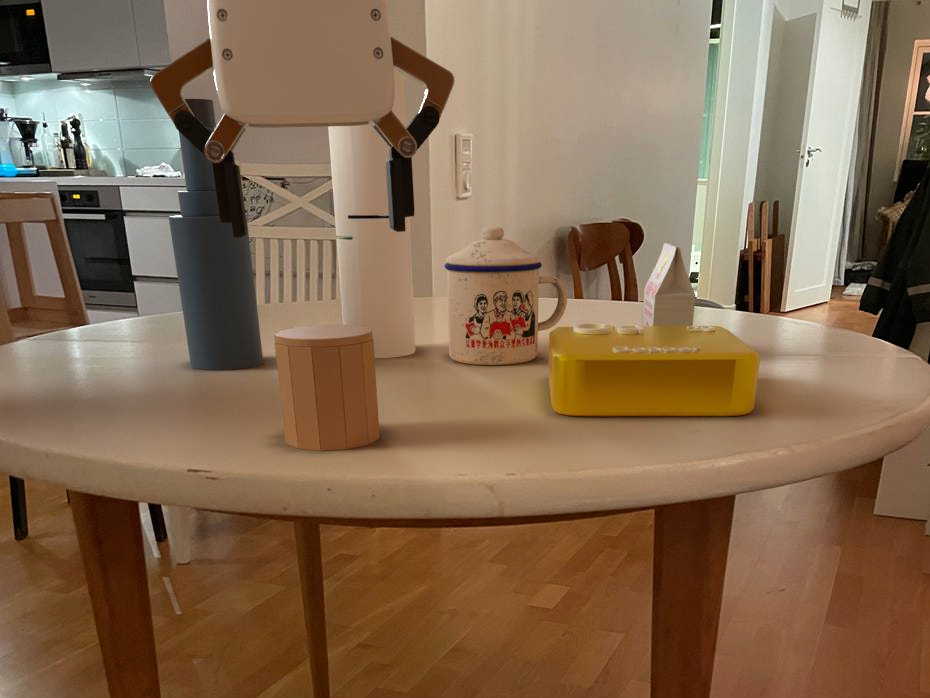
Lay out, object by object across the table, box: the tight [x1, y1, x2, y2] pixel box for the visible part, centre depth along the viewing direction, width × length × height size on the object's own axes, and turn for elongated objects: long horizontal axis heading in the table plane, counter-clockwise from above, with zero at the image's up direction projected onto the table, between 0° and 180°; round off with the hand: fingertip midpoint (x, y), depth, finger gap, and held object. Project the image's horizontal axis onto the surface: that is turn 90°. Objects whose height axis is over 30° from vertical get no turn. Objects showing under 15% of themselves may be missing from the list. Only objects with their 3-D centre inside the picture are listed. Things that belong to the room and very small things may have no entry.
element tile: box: [548, 322, 761, 417], centre depth 72 cm, size 15×15×5 cm
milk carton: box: [641, 242, 696, 326], centre depth 87 cm, size 4×7×10 cm, turn 179°
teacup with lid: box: [444, 226, 568, 366], centre depth 87 cm, size 12×9×12 cm
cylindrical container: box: [327, 69, 416, 359], centre depth 88 cm, size 7×7×25 cm
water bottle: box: [168, 98, 264, 371], centre depth 84 cm, size 7×7×22 cm
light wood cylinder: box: [273, 324, 380, 452], centre depth 61 cm, size 6×6×7 cm
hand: (320, 233), depth 57 cm, fingers open, 9 cm apart
